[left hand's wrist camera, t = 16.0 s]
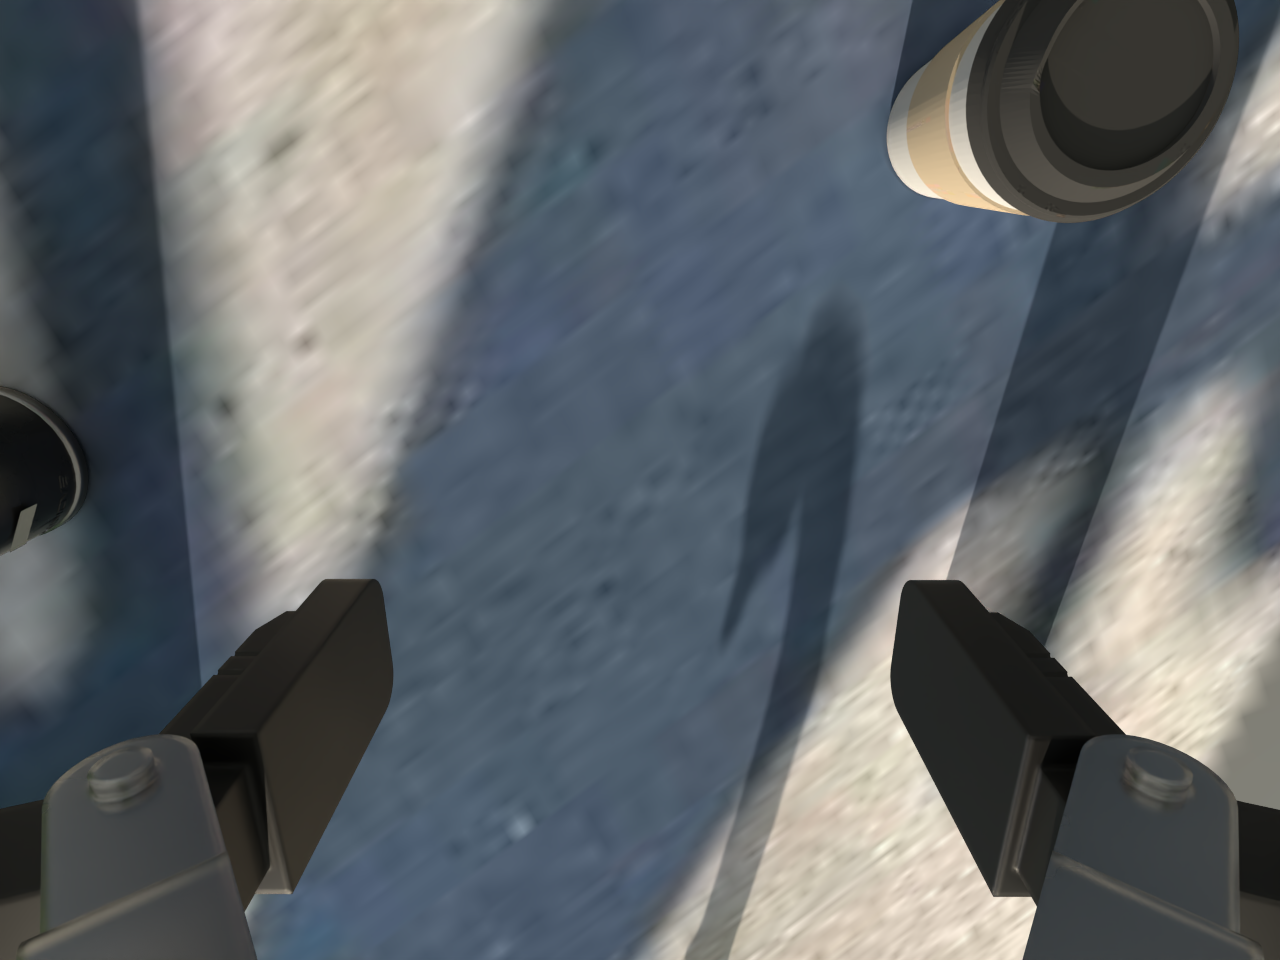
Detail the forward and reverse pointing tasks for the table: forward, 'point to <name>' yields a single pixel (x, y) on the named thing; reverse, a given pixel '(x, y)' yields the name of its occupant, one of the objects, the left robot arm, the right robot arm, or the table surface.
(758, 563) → the table surface
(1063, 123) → the coffee cup
